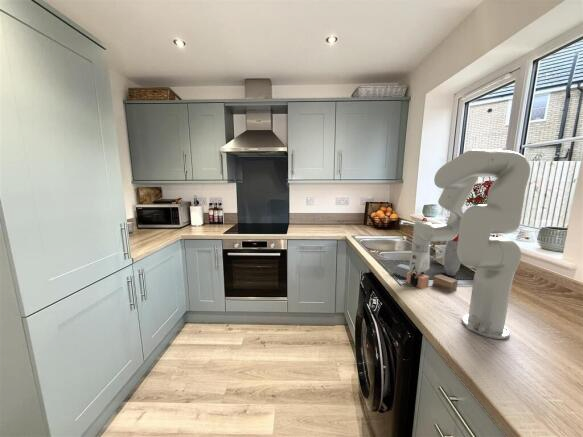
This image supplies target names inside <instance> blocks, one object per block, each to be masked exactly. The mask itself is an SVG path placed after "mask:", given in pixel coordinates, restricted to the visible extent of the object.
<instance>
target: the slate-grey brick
mask: <svg viewBox="0 0 583 437" xmlns="http://www.w3.org/2000/svg"><path fill="white" fill-rule="evenodd" d="M409 267H410V265H407V264H403V263H400V264H397V265H396V268H395V275H396V274H397V276H399V275H400V277H402V276H403V277H402V278H405V279H407V272H409V270H410V268H409ZM414 271H416V270H415V269H414Z"/></svg>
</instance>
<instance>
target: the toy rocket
mask: <svg viewBox="0 0 583 437" xmlns="http://www.w3.org/2000/svg"><path fill="white" fill-rule="evenodd" d="M458 237H459V234H458V235H457V236H456V237H455V238H454V239H453V240H450V241H446V242H447V243H446V246H445V248H444V250H445V251H444V255H443V256H444V257H443V267H444V271H445V274H446V275H447V276H452V277H453V276H454V277H455V276H456V273H458V272H459V270H460V266H461V264H462V263H461V262H460V260H459V258H458V254H457V245H458Z"/></svg>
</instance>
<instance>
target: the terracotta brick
mask: <svg viewBox="0 0 583 437" xmlns="http://www.w3.org/2000/svg"><path fill="white" fill-rule="evenodd" d="M414 273H415V274H416V272H414ZM417 278H418V283H417V286H415V287H417V288H419V289H421V290H422V289H425V288H428V287H429V285H430V284H429V283H430V282H429V281H430V276H429V275H426V274H425V275H424V274H421V273H418V276H417ZM410 279H411V276H410V273H409V272H407V278H406V281H405V283H407V282H408V283H407V284H410Z"/></svg>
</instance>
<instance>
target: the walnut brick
mask: <svg viewBox="0 0 583 437" xmlns="http://www.w3.org/2000/svg"><path fill="white" fill-rule="evenodd" d="M458 282H459V279H458V280H457V279H456V278H451V277H448V276H446V275H444V274H436V275H433V279H432V286H433V287H434V288H437V289H440V290H442V291H444V292H448V293H453V292H456V291H457V289H458Z"/></svg>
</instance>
